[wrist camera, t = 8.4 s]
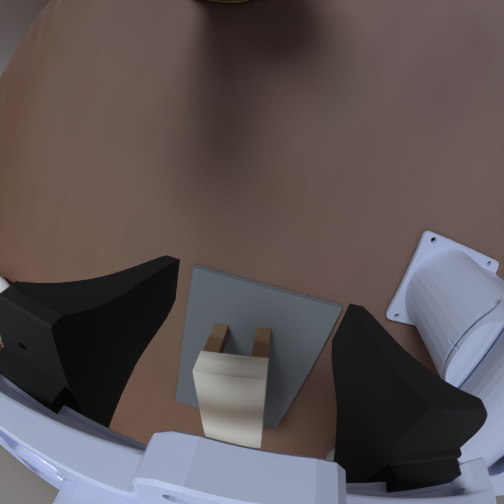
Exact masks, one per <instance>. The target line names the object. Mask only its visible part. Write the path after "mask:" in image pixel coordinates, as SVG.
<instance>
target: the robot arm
mask: <svg viewBox="0 0 504 504" xmlns="http://www.w3.org/2000/svg"><path fill="white" fill-rule="evenodd" d="M433 237H434V241H432V242H431V239H432V238H433ZM179 262H180V259H177V258H174V257H170V256H167V255H166V256H162V257H159V258H156V259H154V260H151V261H148V262H146V263H143V264H140V265H138V266H135V267H132V268H129V269H126V270H123V271H120V272H117V273H114V274H110V275H106V276H102V277H98V278H93V279H88V280H81V281H73V282H63V283H31V282H18V281H16V282H14V283H13V284H11V285H10V286H9V287H7V288H6V289H5V290H3V291H2V292H1V293H0V337H1V340H2V342H3V345H4V348H3V349H1V350H0V444H1V445H2V446H3V447H4V448H5V449H6V450H8V451H9V452H10V453H11V454H12V455H13V456H15V457H16V458H17V459H18V460H19V461H21V462H22V463H23V464H24V465H26V466H27V467H28V468H30V469H31V470H32V471H33V472H35V473H36V474H38V475H39V476H40V477H42V478H43V479H44V480H46V481H47V482H49V483H50V484H51V485H53V486H54V487H56V488H57V489H59V490H60V491H59V493H58V495H57V497H56V499H55V501H54V503H53V504H497V502H496V498H495V496H497V495H498V496H499V495H504V281H503V280H502V279H501V278H500V277H499V276H498V275H496V274H495V273H496V271H497V269H498V266H499V263H498V262H497V261H496V260H494V259H492V258H490V257H488V256H486V255H484V254H482V253H479V252H477V251H475V250H473V249H471V248H468V247H466V246H464V245H462V244H459V243H457V242H455V241H452V240H450V239H448V238H445V237H443V236H441V235H438V234H436V233H433V232H431V231H425V232H424V233H423V235H422V237H421V239H420V242H419V244H418V246H417V249H416V251H415V253H414V256H413V258H412V260H411V262H410V265H409V267H408V269H407V271H406V273H405V275H404V278H403V280H402V282H401V284H400V286H399V288H398V290H397V292H396V294H395V296H394V298H393V300H392V302H391V304H390V306H389V307H388V309H387V311H386V317H387V318H388V319H389V320H393V321H398V322H402V323H406V324H411V325H415V326H416V328H417V330H418V332H419V334H420V336H421V338H422V340H423V342H424V344H425V346H426V348H427V350H428V352H429V354H430V356H431V358H432V360H433V362H434V364H435V367H436V369H437V371H438V373H439V375H440V377H438V376H437V375H435V374H434V373H432V372H431V371H430V370H428V369H427V368H425V367H424V366H423V365H422V364H420V363H419V362H418V361H417V360H416V359H414V358H413V357H412V356H411V355H410V354H409V353H408V352H406V351H405V350H404V349H403V348H402V347H401V346H400V345H399V344H398V343H397V342H396V341H395V340H394V339H393V338H392V337H391V335H390V334H389V333H388V332H387V331H386V330H385V329H384V328H383V327H382V326H381V325H380V323H379V322H378V321H377V320H376V319H375V318H374V317H373V316H372V315H371V314H370V313H369V312H368V311H367V310H366V309H365V308H364V307H362V306H358V305H354V304H349V306H348V308H347V311H346V313H345V315H344V317H343V319H342V321H341V323H340V326H339V328H338V330H337V332H336V334H335V336H334V338H333V340H332V367H333V376H334V384H335V392H336V401H337V430H336V443H335V453H334V460H333V461H332V460H327V459H322V458H318V457H313V456H303V455H295V454H288V453H281V452H275V451H269V450H263V449H258V448H252V447H248V446H243V445H238V444H234V443H230V442H225V441H221V440H217V439H214V438H210V437H206V436H203V435H199V434H193V433H187V432H182V431H177V430H175V431H166V432H158V433H154V435H153V436H152V438H151V439H150V441H149V443H148V445H146V444H144V443H141V442H138V441H136V440H134V439H131V438H129V437H126V436H124V435H122V434H120V433H117V432H115V431H113V430H111V429H109V425H110V422H111V420H112V417H113V414H114V412H115V409H116V407H117V404H118V402H119V400H120V397H121V395H122V393H123V390H124V388H125V386H126V384H127V382H128V379H129V377H130V375H131V373H132V371H133V369H134V367H135V365H136V363H137V361H138V360H139V358H140V356H141V355H142V353H143V352H144V350H145V349H146V347H147V346H148V344H149V343H150V341H151V340H152V338H153V337H154V336H155V334H156V333H157V331H158V330H159V328H160V327H161V325H162V324H163V322H164V321H165V319H166V318H167V316H168V314H169V312H170V310H171V308H172V306H173V304H174V302H175V299H176V289H177V280H178V271H179ZM488 262H489V263H488ZM487 263H488V264H487ZM395 314H398V315H397V316H395Z"/></svg>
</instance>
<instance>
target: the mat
mask: <svg viewBox="0 0 504 504" xmlns="http://www.w3.org/2000/svg"><path fill="white" fill-rule="evenodd" d="M341 310H342V305H341V304H338V303H335V302H331V301H327V300H323V299H319V298H315V297H312V296H308V295H304V294H300V293H297V292H293V291H289V290H286V289H282V288H278V287H275V286H271V285H267V284H264V283H260V282H257V281H253V280H249V279H246V278H242V277H239V276H235V275H232V274H228V273H225V272H221V271H218V270H215V269H211V268H208V267H204V266H201V265H198V264H196V265H195V266H194V269H193V275H192V281H191V287H190V294H189V300H188V307H187V314H186V321H185V328H184V335H183V343H182V351H181V359H180V367H179V376H178V385H177V395H176V401H178V402H181V403H184V404H187V405H190V406H193V407H196V408H199V403H198V398H197V393H196V388H195V382H194V377H193V368H194V366H195V363H196V361H197V359H198V356H199V354H200V351H203V350H204V347H205V345H206V343H207V340H208V338H209V335H210V333H211V330H212V328H213V325H214V323H216V324H225V325H228V331H229V336H228V340H227V343H226V346H225V349H224V352H223V354H232V355H241V356H250V357H251V354H252V349H253V344H254V339H255V334H256V329H257V328H268V329H271V340H270V348H269V356H268V358H269V360H268V374H267V388H266V393H267V396H266V405H265V414H264V425H266V426H271V427H277V426H278V424H279V423H280V421H281V419H282V418H283V416H284V415H285V413H286V411H287V410H288V408H289V406H290V405H291V403H292V401H293V400H294V398H295V396H296V395H297V393H298V391H299V390H300V388H301V386H302V384H303V383H304V381H305V379H306V377H307V376H308V374H309V372H310V370H311V368H312V367H313V365H314V363H315V361H316V359H317V357H318V355H319V354H320V352H321V350H322V348H323V346H324V344H325V342H326V340H327V338H328V336H329V334H330V332H331V330H332V328H333V326H334V324H335V322H336V320H337V318H338V316H339V314H340V312H341ZM199 409H200V408H199Z"/></svg>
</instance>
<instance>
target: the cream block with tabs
mask: <svg viewBox="0 0 504 504" xmlns="http://www.w3.org/2000/svg"><path fill="white" fill-rule="evenodd" d="M228 336H229V331H228V325H225V324H216V323H214V325H213V328H212V330H211V333H210V335H209V338H208V340H207V343H206V345H205V347H204V350H203V351H200V354H199V356H198V359H197V361H196V363H195V366H194V368H193V377H194V382H195V388H196V393H197V398H198V403H199V408H200V413H201V418H202V423H203V427H204V432H205V436H206V437H210V438H214V439H217V440H221V441H225V442H230V443H234V444H238V445H243V446H248V447H255V448H261V442H262V435H263V426H264V414H265V405H266V396H267V393H266V388H267V374H268V360H269V358H268V356H269V348H270V340H271V329H268V328H257V329H256V334H255V339H254V344H253V349H252V354H251V357H250V356H241V355H232V354H223V352H224V349H225V346H226V343H227V340H228Z"/></svg>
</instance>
